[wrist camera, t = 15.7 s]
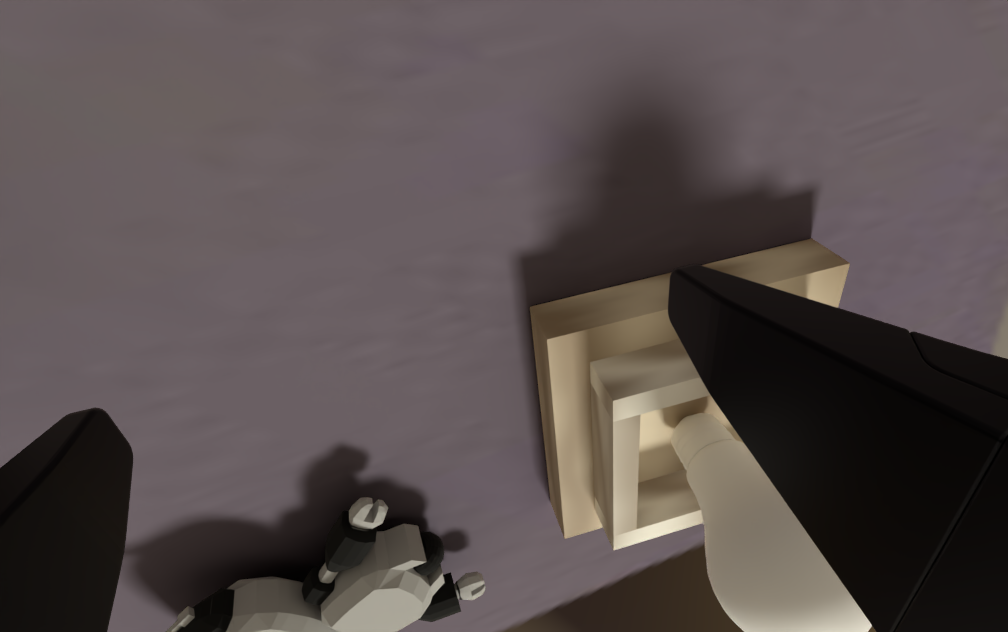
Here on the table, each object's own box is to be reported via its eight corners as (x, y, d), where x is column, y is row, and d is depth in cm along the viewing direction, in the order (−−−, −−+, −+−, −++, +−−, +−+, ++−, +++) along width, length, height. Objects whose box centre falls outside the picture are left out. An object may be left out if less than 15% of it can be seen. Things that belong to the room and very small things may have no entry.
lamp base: (550, 502, 34) (580, 580, 30) (529, 306, 26) (567, 378, 22) (766, 439, 36) (822, 504, 32) (811, 238, 27) (894, 292, 23)
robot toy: (361, 445, 29) (125, 610, 30) (372, 516, 25) (103, 702, 26) (485, 546, 36) (293, 676, 37) (507, 612, 33) (294, 756, 33)
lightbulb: (620, 472, 30) (744, 707, 21) (640, 383, 26) (799, 619, 17) (725, 452, 31) (882, 665, 22) (757, 365, 28) (959, 575, 19)
